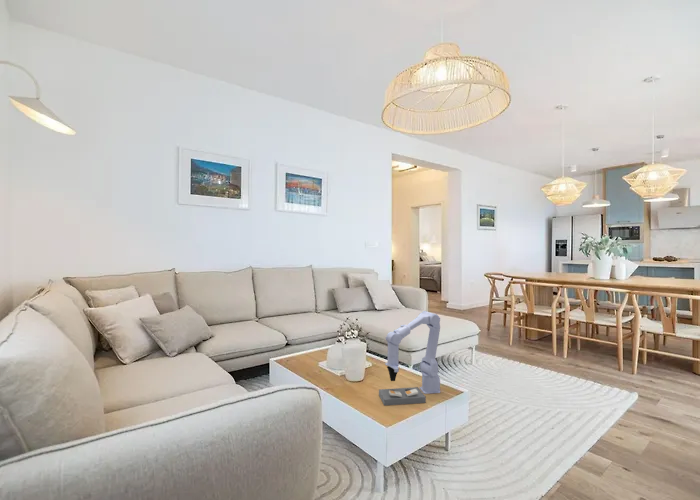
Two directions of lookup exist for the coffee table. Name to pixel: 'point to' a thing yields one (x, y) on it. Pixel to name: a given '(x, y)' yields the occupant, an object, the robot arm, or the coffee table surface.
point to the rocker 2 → (411, 392)
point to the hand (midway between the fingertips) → (392, 380)
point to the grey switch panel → (397, 400)
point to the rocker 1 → (395, 393)
